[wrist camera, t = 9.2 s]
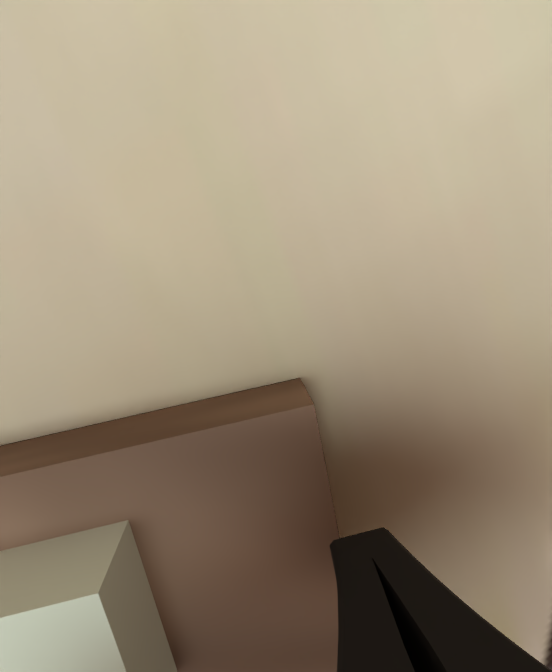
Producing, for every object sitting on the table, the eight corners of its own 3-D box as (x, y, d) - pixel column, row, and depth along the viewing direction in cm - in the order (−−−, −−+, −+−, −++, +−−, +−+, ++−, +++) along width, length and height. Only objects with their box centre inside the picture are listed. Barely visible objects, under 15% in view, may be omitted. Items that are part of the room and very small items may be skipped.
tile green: (177, 670, 10) (162, 772, 8) (-2, 718, 10) (-63, 835, 8) (128, 519, 9) (97, 592, 7) (-72, 568, 9) (-162, 658, 7)
